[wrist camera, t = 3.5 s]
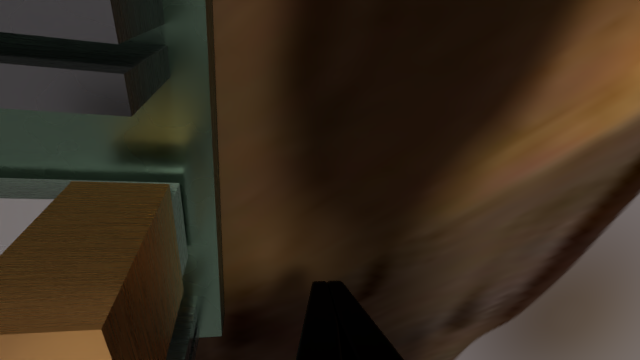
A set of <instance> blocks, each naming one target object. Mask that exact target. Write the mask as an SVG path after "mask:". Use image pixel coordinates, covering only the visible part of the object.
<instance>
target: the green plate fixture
mask: <svg viewBox="0 0 640 360" xmlns="http://www.w3.org/2000/svg"><path fill="white" fill-rule="evenodd" d="M0 178H23V179H57V180H92V181H127V182H161V183H180V191H181V200H182V209H183V217H184V226H185V235H186V243H187V252H188V259H187V263H186V266H185V270H184V274H183V277H182V281H183V289H184V291H183V295H182V299H181V303H180V307H179V311H178V314H177V318H176V322H175V326H174V330H173V334H172V337H171V341H170V345H169V349H168V353H167V357H166V360H195V356H196V350H197V345H198V339H199V337H216V336H222V331H223V322H224V314H225V313H224V287H223V262H222V237H221V212H220V187H219V162H218V136H217V111H216V86H215V61H214V36H213V10H212V0H0Z"/></svg>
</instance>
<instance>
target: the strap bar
mask: <svg viewBox="0 0 640 360" xmlns="http://www.w3.org/2000/svg"><path fill="white" fill-rule="evenodd" d="M187 259H188V252H187V243H186V235H185V226H184V217H183V209H182V200H181V191H180V183H161V182H127V181H92V180H57V179H23V178H0V360H166V357H167V353H168V349H169V345H170V341H171V337H172V334H173V330H174V326H175V322H176V318H177V314H178V311H179V307H180V303H181V299H182V295H183V291H184V289H183V281H182V277H183V274H184V270H185V266H186V263H187Z"/></svg>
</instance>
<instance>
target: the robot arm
mask: <svg viewBox="0 0 640 360" xmlns="http://www.w3.org/2000/svg"><path fill="white" fill-rule="evenodd" d="M296 360H404V359H403V358H402V357H401V355H400V354H399V353H398V352H397V350H396V349H395V348H394V347H393V345H392V344H391V343H390V342H389V340H388V339H387V338H386V337H385V335H384V334H383V333H382V331H381V330H380V329H379V328H378V326H377V325H376V324H375V323H374V321H373V320H372V319H371V318H370V316H369V315H368V314H367V313H366V311H365V310H364V309H363V308H362V306H361V305H360V304H359V303H358V301H357V300H356V299H355V297H354V296H353V295H352V294H351V292H350V291H349V290H348V289H347V287H346V286H345V285H344V284H343V282H341V281H328V282H325V281H314V282H313V283H312V286H311V291H310V296H309V301H308V305H307V310H306V315H305V319H304V324H303V329H302V333H301V338H300V343H299V348H298V352H297V357H296Z"/></svg>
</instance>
